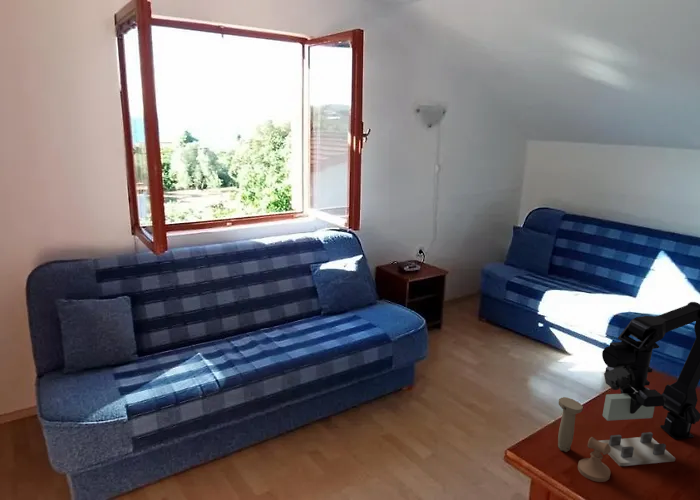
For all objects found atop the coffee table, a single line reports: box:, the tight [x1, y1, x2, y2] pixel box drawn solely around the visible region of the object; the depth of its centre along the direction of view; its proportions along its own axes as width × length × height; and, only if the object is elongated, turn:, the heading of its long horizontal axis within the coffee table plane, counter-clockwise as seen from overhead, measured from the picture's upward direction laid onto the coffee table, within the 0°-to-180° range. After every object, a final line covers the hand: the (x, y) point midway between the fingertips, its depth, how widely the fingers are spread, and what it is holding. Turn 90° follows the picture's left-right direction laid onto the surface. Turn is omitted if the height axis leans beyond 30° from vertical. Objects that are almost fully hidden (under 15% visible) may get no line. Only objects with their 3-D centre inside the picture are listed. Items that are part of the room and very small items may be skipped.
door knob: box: [577, 436, 612, 483], centre depth 140 cm, size 8×10×8 cm
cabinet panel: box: [599, 431, 676, 467], centre depth 149 cm, size 17×10×4 cm, turn 99°
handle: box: [557, 396, 584, 453], centre depth 148 cm, size 5×6×15 cm
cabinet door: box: [602, 393, 656, 422], centre depth 150 cm, size 14×2×7 cm, turn 97°
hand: (628, 410), depth 151 cm, fingers closed on cabinet door, 2 cm apart
